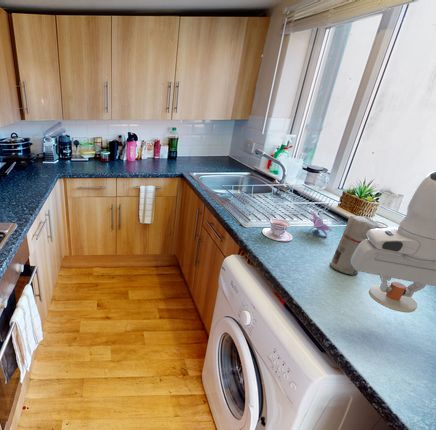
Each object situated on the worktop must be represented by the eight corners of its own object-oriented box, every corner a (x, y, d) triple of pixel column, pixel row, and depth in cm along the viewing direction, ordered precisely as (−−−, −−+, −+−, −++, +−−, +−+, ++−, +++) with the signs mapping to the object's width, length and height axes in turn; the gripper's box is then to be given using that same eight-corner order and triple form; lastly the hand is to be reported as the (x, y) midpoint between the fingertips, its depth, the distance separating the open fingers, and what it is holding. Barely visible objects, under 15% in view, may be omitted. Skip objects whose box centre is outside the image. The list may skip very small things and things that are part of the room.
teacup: (258, 227, 131) (261, 215, 128) (285, 230, 129) (289, 217, 127) (267, 240, 120) (270, 227, 117) (297, 243, 119) (301, 230, 116)
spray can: (332, 259, 108) (351, 211, 100) (359, 268, 103) (382, 218, 94) (326, 268, 103) (347, 218, 94) (355, 278, 97) (379, 226, 89)
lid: (405, 293, 72) (413, 279, 70) (423, 317, 64) (432, 301, 63) (363, 285, 75) (370, 270, 73) (375, 306, 67) (383, 291, 66)
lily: (328, 245, 119) (343, 226, 117) (301, 230, 122) (316, 211, 119) (316, 240, 131) (330, 223, 129) (292, 226, 133) (305, 209, 131)
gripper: (475, 245, 62) (444, 296, 68) (360, 228, 69) (340, 275, 75) (496, 260, 57) (461, 314, 62) (369, 240, 64) (347, 289, 70)
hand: (394, 292), depth 69 cm, fingers closed on lid, 2 cm apart
